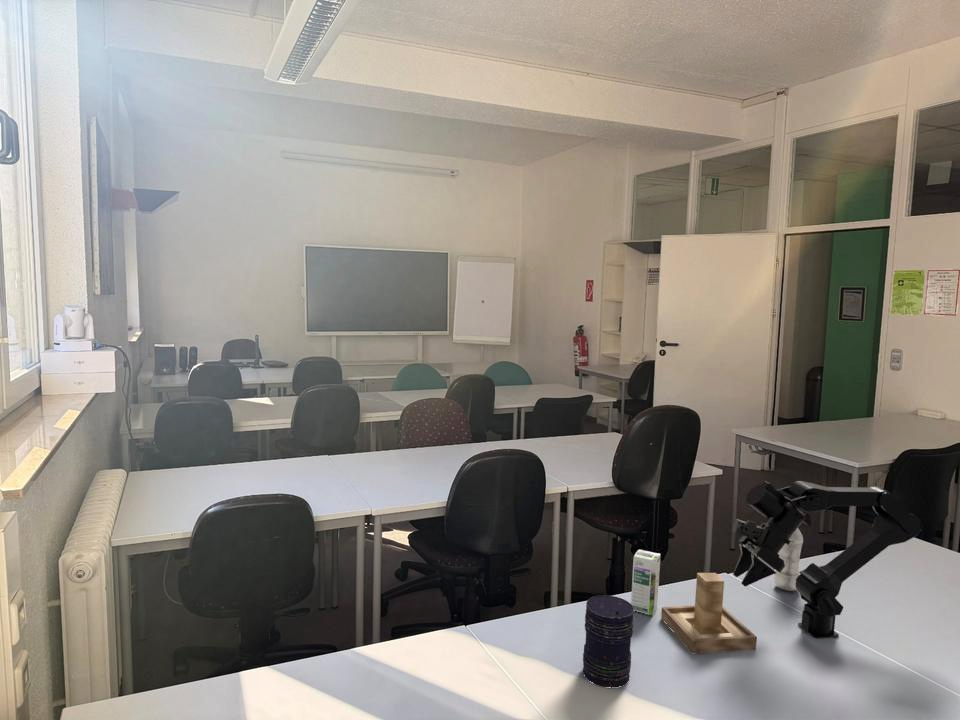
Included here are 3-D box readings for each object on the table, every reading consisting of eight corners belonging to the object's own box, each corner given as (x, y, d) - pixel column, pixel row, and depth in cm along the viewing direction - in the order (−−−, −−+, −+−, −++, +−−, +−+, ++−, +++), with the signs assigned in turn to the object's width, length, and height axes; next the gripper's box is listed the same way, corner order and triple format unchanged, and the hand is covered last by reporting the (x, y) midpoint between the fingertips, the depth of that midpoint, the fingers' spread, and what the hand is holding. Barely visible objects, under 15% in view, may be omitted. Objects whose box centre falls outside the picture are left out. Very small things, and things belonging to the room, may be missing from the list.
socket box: (719, 615, 161) (720, 604, 161) (755, 649, 146) (756, 636, 145) (661, 618, 158) (661, 607, 158) (692, 653, 143) (693, 641, 143)
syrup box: (629, 611, 162) (632, 555, 160) (635, 601, 167) (638, 547, 166) (652, 617, 159) (656, 560, 158) (657, 607, 164) (661, 552, 163)
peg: (711, 628, 154) (715, 572, 153) (719, 638, 150) (724, 581, 149) (693, 628, 154) (697, 572, 153) (701, 639, 150) (705, 581, 148)
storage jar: (573, 665, 137) (577, 598, 136) (613, 657, 141) (617, 592, 139) (598, 692, 128) (602, 621, 126) (639, 683, 131) (644, 614, 130)
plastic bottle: (775, 592, 175) (781, 521, 173) (771, 581, 182) (777, 513, 180) (801, 595, 173) (807, 524, 171) (796, 585, 180) (802, 516, 178)
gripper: (741, 501, 162) (703, 550, 163) (760, 511, 144) (717, 566, 144) (780, 530, 160) (741, 579, 160) (803, 544, 142) (759, 599, 142)
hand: (738, 580), depth 152 cm, fingers open, 9 cm apart
